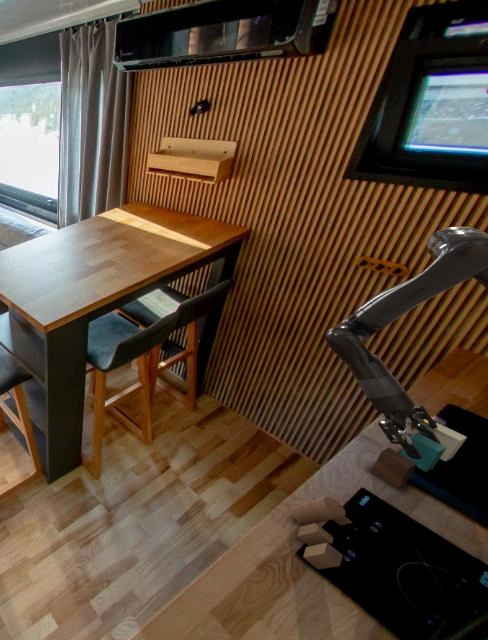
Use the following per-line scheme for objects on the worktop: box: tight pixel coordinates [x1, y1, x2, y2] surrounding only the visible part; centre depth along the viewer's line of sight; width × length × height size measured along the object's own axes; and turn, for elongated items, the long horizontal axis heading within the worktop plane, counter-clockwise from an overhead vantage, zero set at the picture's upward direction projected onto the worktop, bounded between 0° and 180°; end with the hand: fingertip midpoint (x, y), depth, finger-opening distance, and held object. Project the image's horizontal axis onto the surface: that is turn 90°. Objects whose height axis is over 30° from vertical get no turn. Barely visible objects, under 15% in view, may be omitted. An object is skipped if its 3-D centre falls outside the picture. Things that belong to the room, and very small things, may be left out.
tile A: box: [434, 422, 468, 462], centre depth 97 cm, size 3×5×8 cm, turn 19°
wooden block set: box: [291, 495, 353, 570], centre depth 84 cm, size 18×9×10 cm, turn 130°
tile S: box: [399, 432, 446, 473], centre depth 95 cm, size 3×5×8 cm, turn 17°
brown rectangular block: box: [370, 447, 417, 489], centre depth 93 cm, size 3×5×8 cm, turn 17°
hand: (427, 453), depth 94 cm, fingers open, 7 cm apart
